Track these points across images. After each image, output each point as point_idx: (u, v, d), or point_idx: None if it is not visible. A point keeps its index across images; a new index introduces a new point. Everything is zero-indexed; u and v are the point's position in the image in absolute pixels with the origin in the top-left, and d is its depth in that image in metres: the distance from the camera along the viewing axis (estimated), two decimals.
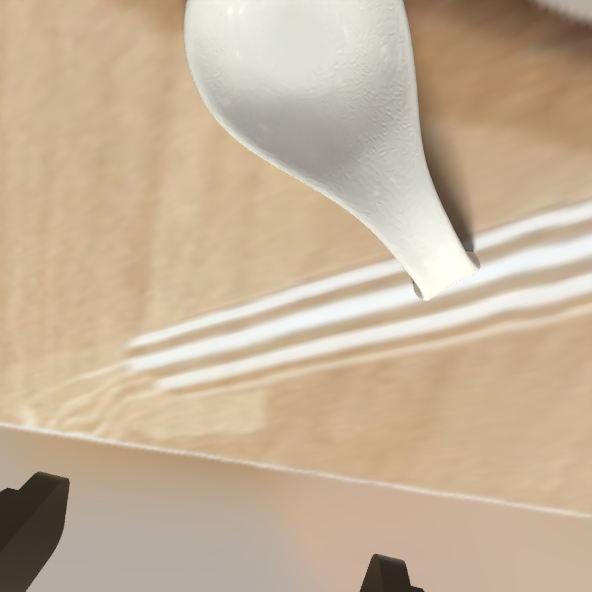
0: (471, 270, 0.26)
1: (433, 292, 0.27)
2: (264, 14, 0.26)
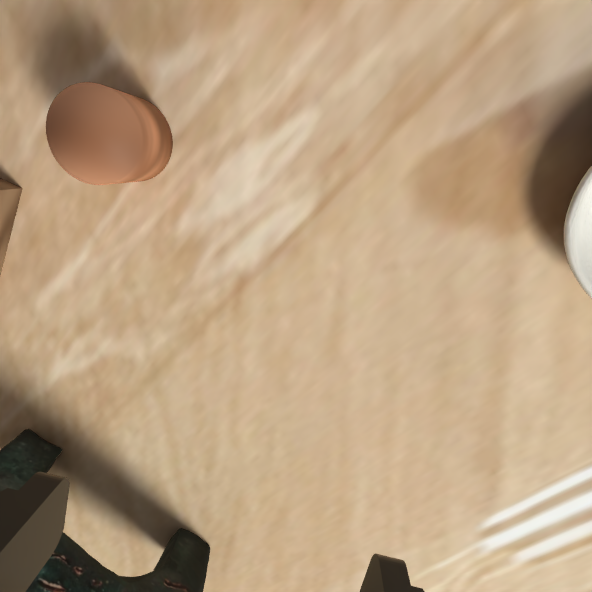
0: None
1: None
2: None
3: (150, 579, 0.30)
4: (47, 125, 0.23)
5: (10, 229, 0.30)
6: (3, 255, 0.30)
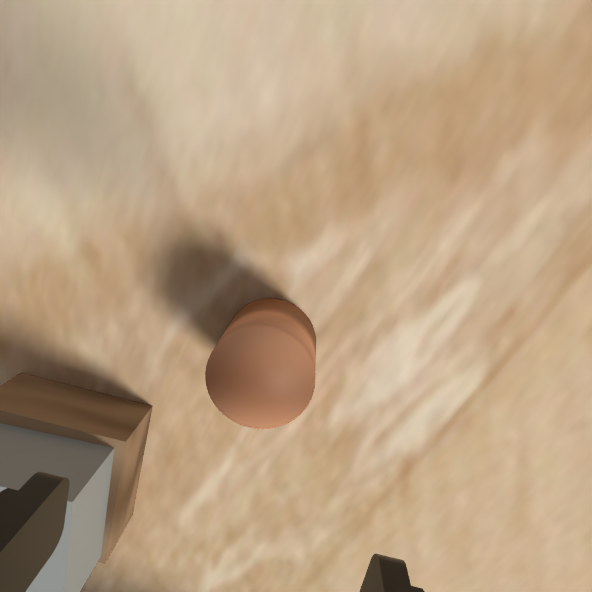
0: None
1: None
2: None
3: None
4: (206, 378, 0.20)
5: (143, 450, 0.27)
6: (138, 477, 0.27)
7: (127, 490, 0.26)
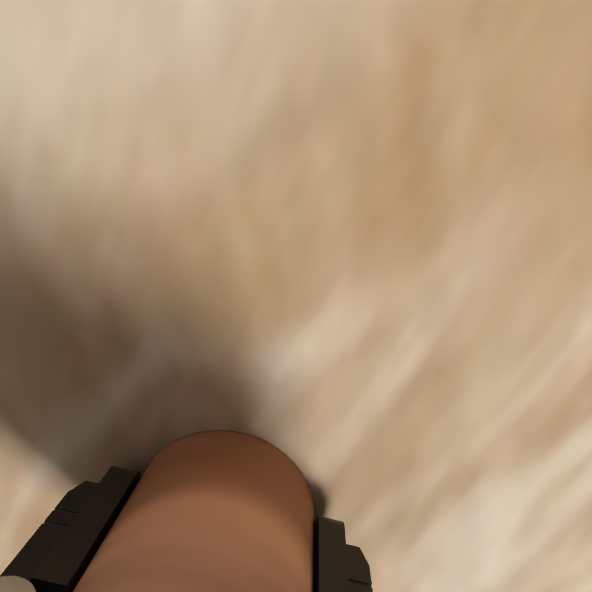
0: None
1: None
2: None
3: None
4: None
5: None
6: None
7: None
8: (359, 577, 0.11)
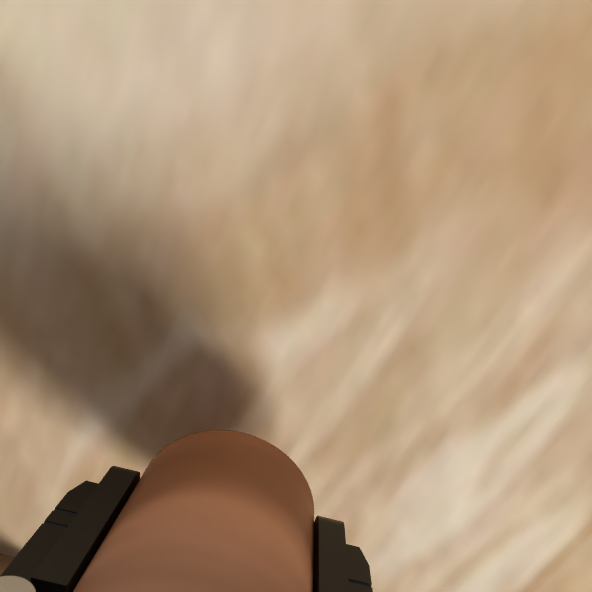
0: None
1: None
2: None
3: None
4: None
5: None
6: None
7: None
8: (359, 577, 0.11)
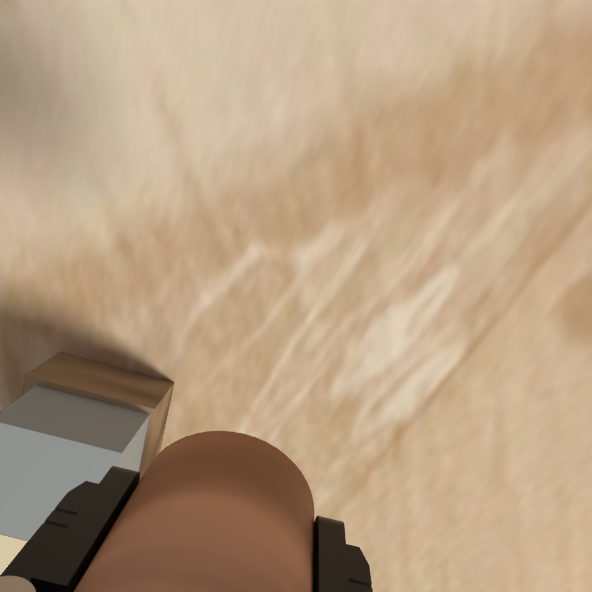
0: None
1: None
2: None
3: None
4: None
5: (165, 420, 0.31)
6: (160, 445, 0.31)
7: (152, 454, 0.29)
8: (359, 577, 0.11)
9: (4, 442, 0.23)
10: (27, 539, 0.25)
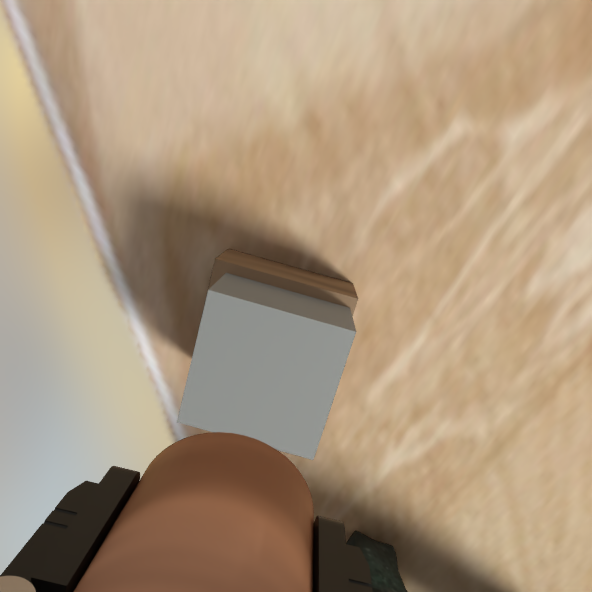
0: None
1: None
2: None
3: None
4: None
5: None
6: None
7: None
8: (359, 577, 0.11)
9: (221, 317, 0.20)
10: None
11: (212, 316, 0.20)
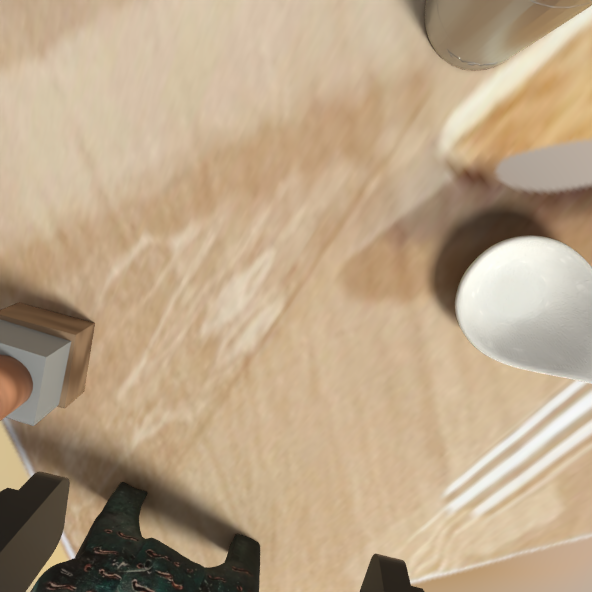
0: None
1: None
2: (490, 286, 0.42)
3: (222, 567, 0.45)
4: None
5: (89, 349, 0.46)
6: (87, 366, 0.47)
7: (78, 369, 0.45)
8: None
9: None
10: None
11: None
